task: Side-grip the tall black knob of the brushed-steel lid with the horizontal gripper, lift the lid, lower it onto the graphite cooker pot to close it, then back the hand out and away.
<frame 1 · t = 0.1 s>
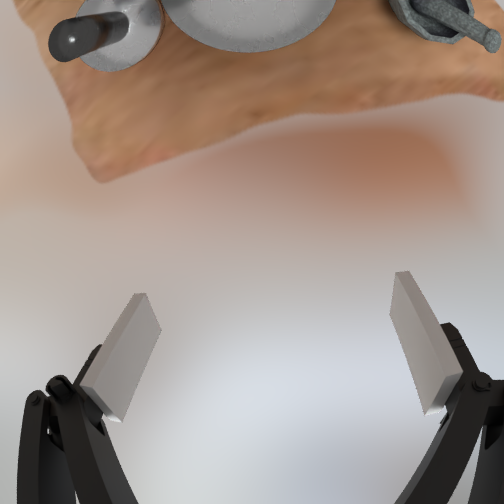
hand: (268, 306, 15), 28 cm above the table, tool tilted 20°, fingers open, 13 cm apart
steel lid: (118, 26, 24), on the table
mortar and pestle: (413, 3, 21), on the table
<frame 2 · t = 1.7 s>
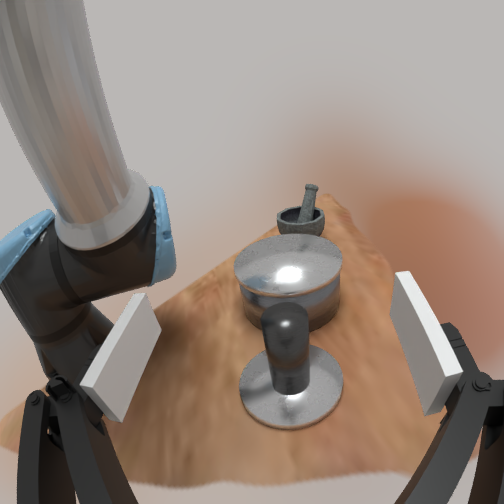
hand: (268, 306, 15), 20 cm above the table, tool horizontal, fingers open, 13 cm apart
cooker pot: (291, 301, 46), on the table
steel lid: (291, 387, 32), on the table
mortar and pestle: (304, 244, 62), on the table
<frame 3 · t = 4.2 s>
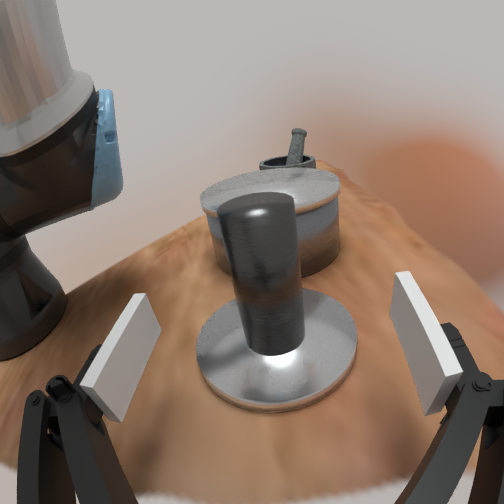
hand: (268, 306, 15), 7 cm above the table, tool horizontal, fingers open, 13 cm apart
cooker pot: (277, 247, 36), on the table
steel lid: (277, 347, 22), on the table
mortar and pestle: (293, 197, 52), on the table
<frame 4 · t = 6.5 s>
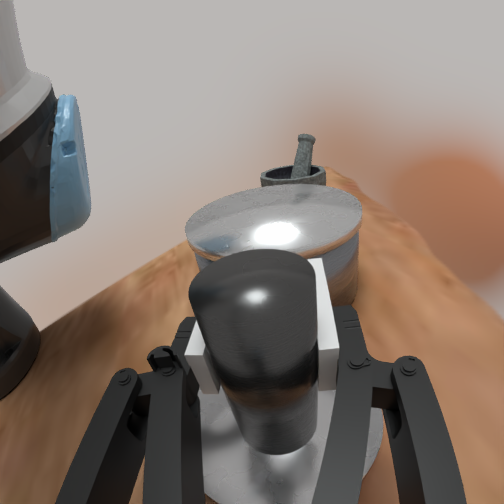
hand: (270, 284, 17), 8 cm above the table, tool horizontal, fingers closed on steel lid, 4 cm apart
cooker pot: (282, 284, 30), on the table
steel lid: (280, 433, 15), on the table, touching gripper
mortar and pestle: (299, 214, 46), on the table
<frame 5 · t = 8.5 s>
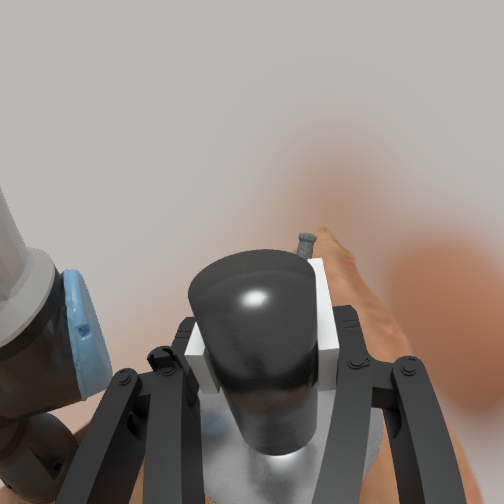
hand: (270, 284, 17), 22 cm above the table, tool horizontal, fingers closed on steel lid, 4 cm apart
steel lid: (280, 433, 15), point 14 cm above the table, touching gripper
mortar and pestle: (298, 309, 48), on the table
when the fingers open (17 cm above the table, at t = 10.5 s): steel lid drops 1 cm, resting on cooker pot.
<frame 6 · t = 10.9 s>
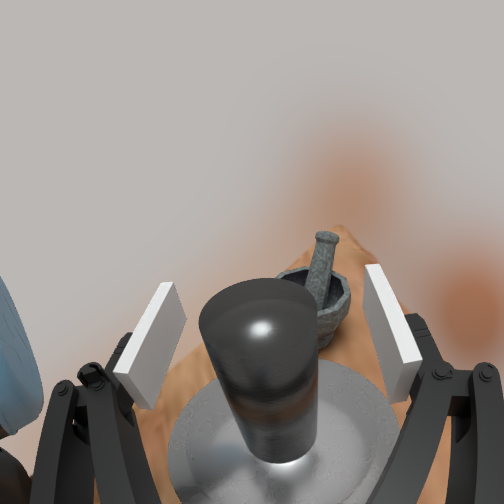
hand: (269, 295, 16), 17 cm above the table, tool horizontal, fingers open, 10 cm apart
cooker pot: (288, 474, 20), on the table
steel lid: (282, 442, 16), point 8 cm above the table, touching cooker pot
mortar and pestle: (312, 331, 36), on the table
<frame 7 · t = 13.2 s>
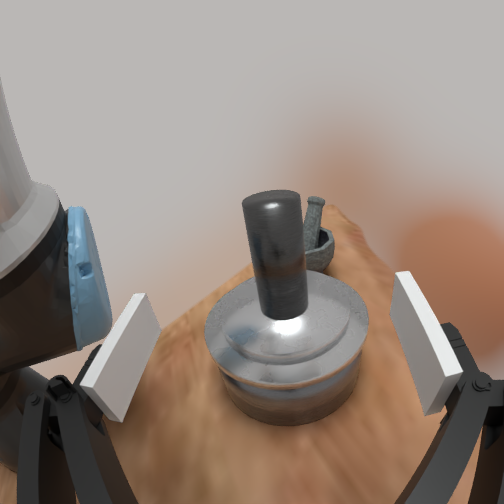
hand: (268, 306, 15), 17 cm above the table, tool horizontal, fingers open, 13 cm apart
cooker pot: (291, 368, 31), on the table
steel lid: (285, 316, 27), point 8 cm above the table, touching cooker pot
mortar and pestle: (307, 275, 47), on the table
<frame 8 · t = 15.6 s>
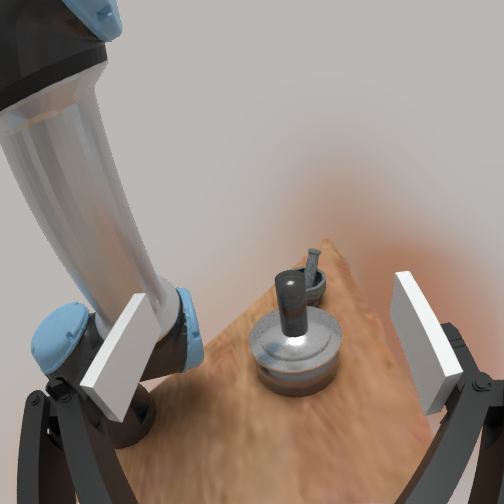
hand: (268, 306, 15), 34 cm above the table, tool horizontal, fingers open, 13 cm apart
cooker pot: (297, 364, 52), on the table
steel lid: (295, 334, 48), point 8 cm above the table, touching cooker pot
mortar and pestle: (307, 301, 68), on the table
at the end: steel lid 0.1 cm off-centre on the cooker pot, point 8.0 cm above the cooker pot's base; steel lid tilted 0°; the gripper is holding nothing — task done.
